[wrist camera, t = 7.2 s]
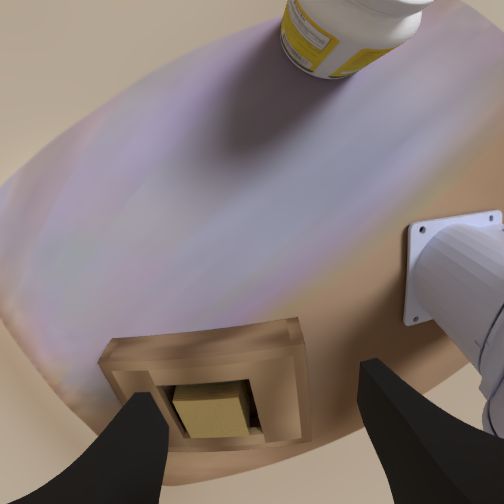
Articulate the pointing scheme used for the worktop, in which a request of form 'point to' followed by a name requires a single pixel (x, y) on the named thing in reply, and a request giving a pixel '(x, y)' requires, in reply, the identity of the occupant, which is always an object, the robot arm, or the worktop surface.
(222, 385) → the wooden block
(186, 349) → the brown wooden frame
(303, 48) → the supplement bottle
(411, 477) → the robot arm
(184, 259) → the worktop surface
